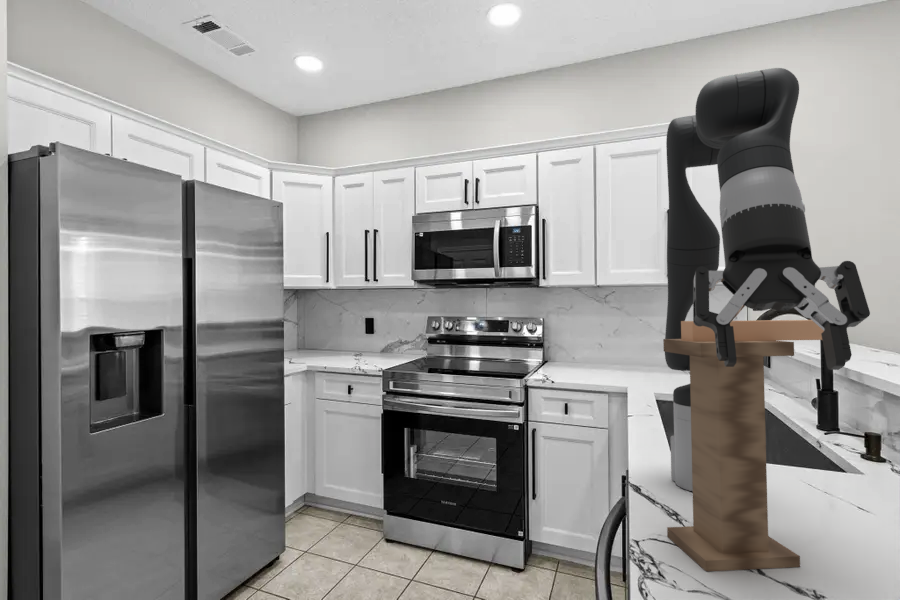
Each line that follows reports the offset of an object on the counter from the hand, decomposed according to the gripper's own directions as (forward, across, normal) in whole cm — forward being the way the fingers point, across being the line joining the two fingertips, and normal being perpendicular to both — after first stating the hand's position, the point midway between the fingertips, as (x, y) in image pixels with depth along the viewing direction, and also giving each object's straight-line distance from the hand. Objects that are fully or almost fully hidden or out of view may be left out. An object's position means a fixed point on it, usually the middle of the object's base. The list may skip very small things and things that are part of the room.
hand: (781, 366), depth 44 cm
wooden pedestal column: (+19, 0, -38) cm, 42 cm away
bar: (-12, -5, -28) cm, 31 cm away
